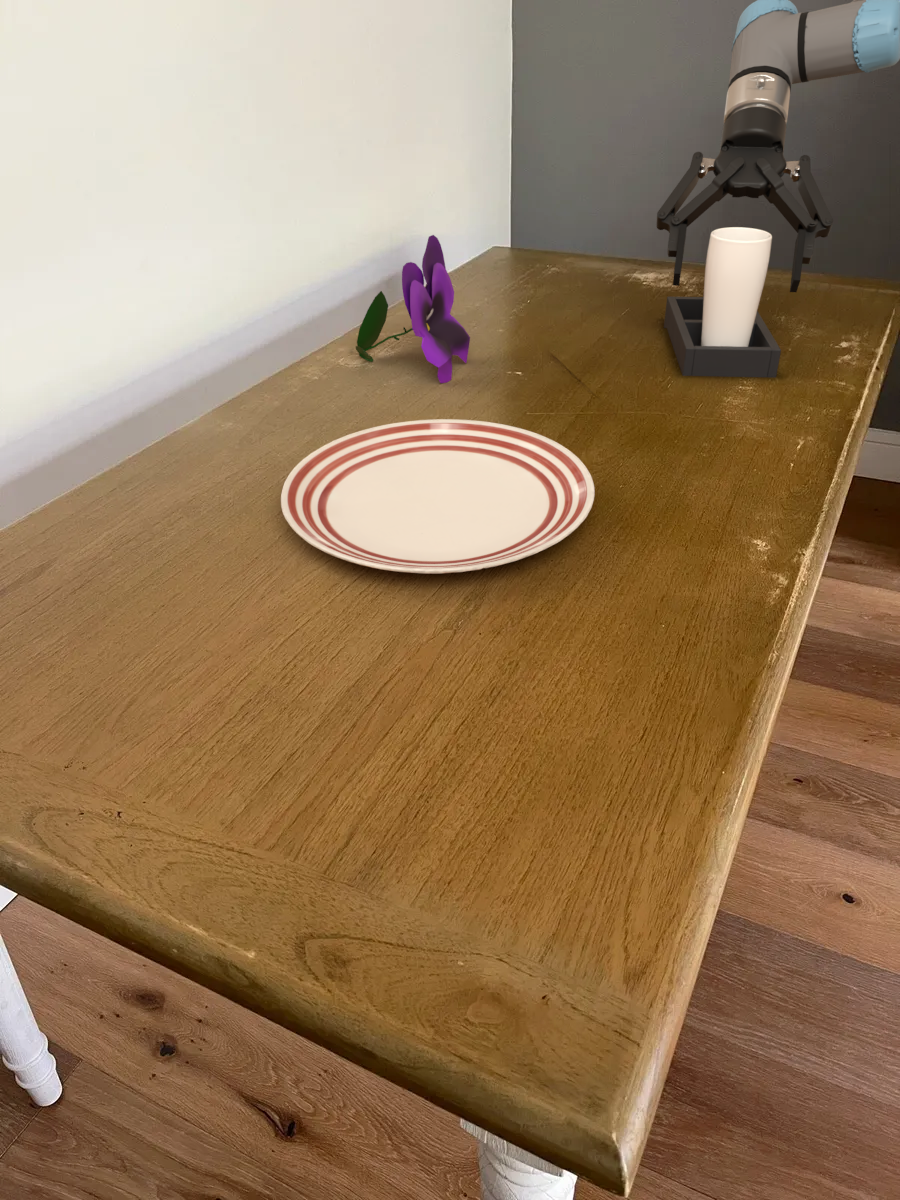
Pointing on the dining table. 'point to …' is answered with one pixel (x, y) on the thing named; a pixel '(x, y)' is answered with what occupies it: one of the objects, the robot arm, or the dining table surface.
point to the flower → (422, 313)
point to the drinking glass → (733, 284)
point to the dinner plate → (437, 495)
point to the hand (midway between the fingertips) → (734, 283)
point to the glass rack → (717, 360)
